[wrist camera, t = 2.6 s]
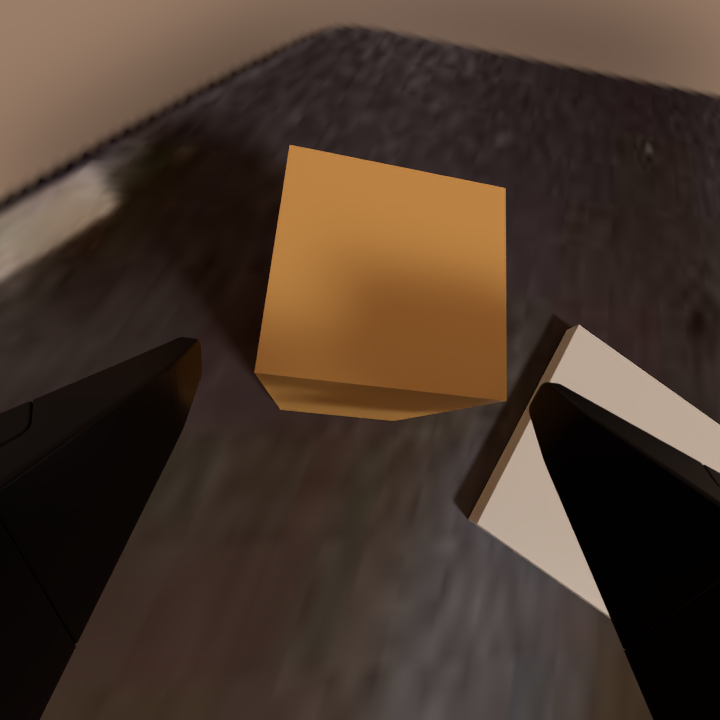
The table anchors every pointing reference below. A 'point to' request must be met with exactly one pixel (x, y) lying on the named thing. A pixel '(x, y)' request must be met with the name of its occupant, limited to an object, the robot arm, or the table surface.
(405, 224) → the tall orange pillar
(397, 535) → the table surface
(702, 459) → the plate
